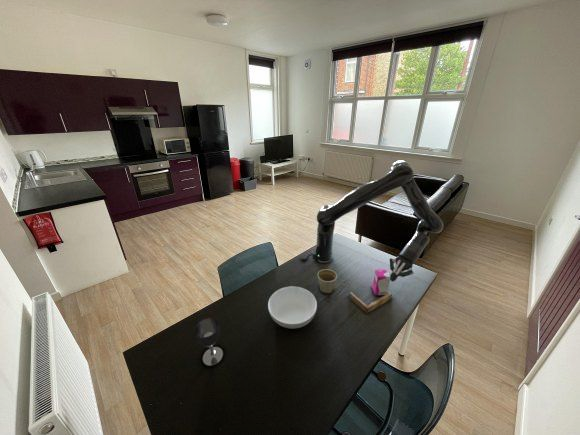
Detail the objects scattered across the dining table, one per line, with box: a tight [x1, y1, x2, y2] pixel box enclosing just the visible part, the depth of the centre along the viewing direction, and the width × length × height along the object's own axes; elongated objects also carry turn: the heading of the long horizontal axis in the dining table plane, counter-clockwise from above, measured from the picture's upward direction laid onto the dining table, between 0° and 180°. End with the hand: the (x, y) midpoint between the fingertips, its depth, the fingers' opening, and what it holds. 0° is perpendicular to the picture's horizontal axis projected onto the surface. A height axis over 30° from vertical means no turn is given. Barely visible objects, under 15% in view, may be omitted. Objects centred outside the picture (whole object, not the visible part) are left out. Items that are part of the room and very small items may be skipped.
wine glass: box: [193, 317, 224, 367], centre depth 84 cm, size 8×8×15 cm
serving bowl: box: [267, 285, 318, 330], centre depth 103 cm, size 21×21×7 cm
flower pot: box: [317, 268, 338, 294], centre depth 117 cm, size 9×9×9 cm
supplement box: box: [371, 268, 391, 297], centre depth 114 cm, size 6×6×12 cm
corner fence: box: [348, 292, 393, 314], centre depth 112 cm, size 16×11×3 cm, turn 121°
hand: (390, 280), depth 116 cm, fingers closed
